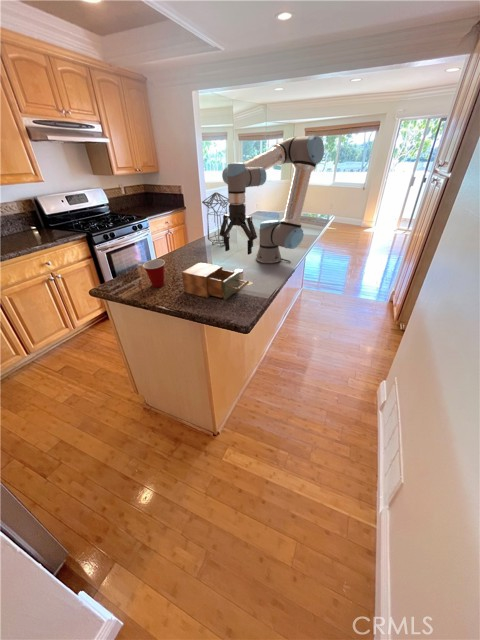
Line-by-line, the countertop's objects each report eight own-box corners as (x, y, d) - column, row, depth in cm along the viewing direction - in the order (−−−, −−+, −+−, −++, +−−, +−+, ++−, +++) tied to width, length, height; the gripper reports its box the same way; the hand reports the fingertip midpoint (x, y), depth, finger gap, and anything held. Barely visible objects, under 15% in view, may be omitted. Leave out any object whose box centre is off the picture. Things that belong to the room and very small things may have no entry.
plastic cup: (142, 288, 135) (137, 265, 128) (155, 279, 143) (151, 258, 137) (160, 291, 131) (156, 267, 125) (173, 282, 140) (169, 260, 134)
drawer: (251, 290, 127) (251, 273, 123) (237, 302, 118) (237, 284, 113) (218, 284, 135) (217, 267, 130) (203, 294, 125) (201, 277, 121)
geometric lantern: (222, 248, 188) (219, 194, 170) (204, 246, 195) (199, 193, 176) (233, 243, 200) (232, 191, 181) (216, 240, 206) (212, 190, 188)
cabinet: (223, 286, 135) (222, 266, 129) (207, 297, 124) (205, 276, 119) (201, 281, 140) (199, 262, 135) (184, 292, 130) (181, 272, 124)
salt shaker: (243, 281, 139) (243, 269, 136) (242, 284, 135) (242, 272, 132) (235, 281, 140) (235, 268, 136) (234, 284, 136) (233, 271, 132)
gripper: (265, 203, 115) (264, 253, 127) (218, 200, 125) (221, 246, 137) (258, 206, 110) (257, 257, 121) (209, 203, 120) (213, 251, 131)
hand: (238, 252), depth 129 cm, fingers open, 11 cm apart
